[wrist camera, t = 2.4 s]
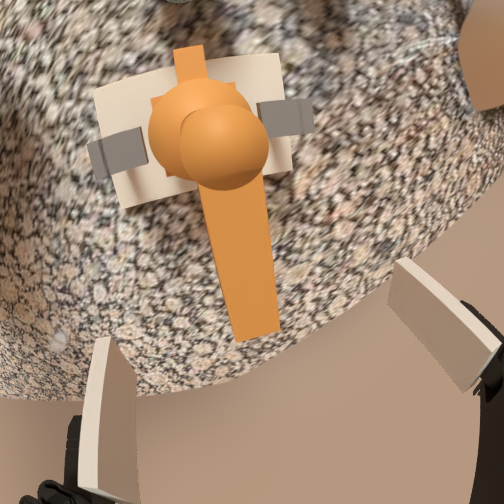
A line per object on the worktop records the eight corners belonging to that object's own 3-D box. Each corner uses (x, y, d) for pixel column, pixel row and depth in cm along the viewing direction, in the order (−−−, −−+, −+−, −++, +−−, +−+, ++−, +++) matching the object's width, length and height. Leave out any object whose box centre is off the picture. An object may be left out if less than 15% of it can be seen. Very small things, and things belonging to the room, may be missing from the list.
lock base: (123, 205, 30) (101, 251, 20) (96, 90, 23) (54, 82, 13) (288, 167, 33) (335, 195, 23) (274, 55, 26) (320, 33, 16)
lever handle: (177, 226, 28) (185, 355, 14) (143, 69, 20) (89, 9, 5) (252, 209, 29) (328, 315, 15) (228, 53, 21) (304, -19, 6)
